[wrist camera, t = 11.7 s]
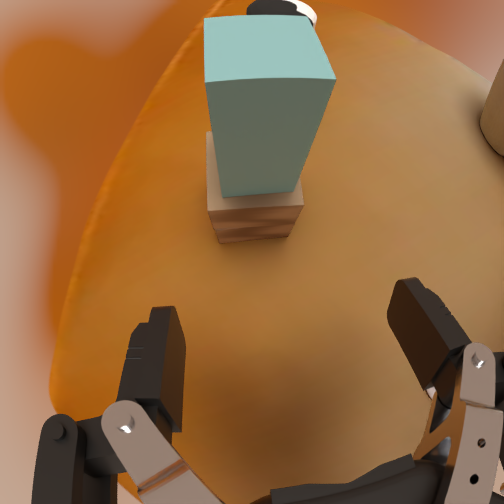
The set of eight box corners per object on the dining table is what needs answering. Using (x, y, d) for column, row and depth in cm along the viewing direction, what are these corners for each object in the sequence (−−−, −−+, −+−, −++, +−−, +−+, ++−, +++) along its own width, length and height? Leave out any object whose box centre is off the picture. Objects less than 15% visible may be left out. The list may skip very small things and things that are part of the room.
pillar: (282, 134, 19) (307, 16, 10) (293, 191, 18) (336, 79, 9) (217, 138, 19) (203, 18, 9) (222, 197, 18) (205, 82, 8)
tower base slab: (278, 176, 27) (283, 154, 23) (287, 236, 26) (295, 222, 22) (214, 181, 27) (210, 160, 23) (219, 243, 26) (215, 230, 22)
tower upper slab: (284, 155, 23) (291, 127, 20) (293, 224, 22) (304, 204, 18) (211, 159, 23) (206, 131, 19) (213, 229, 22) (207, 211, 18)
